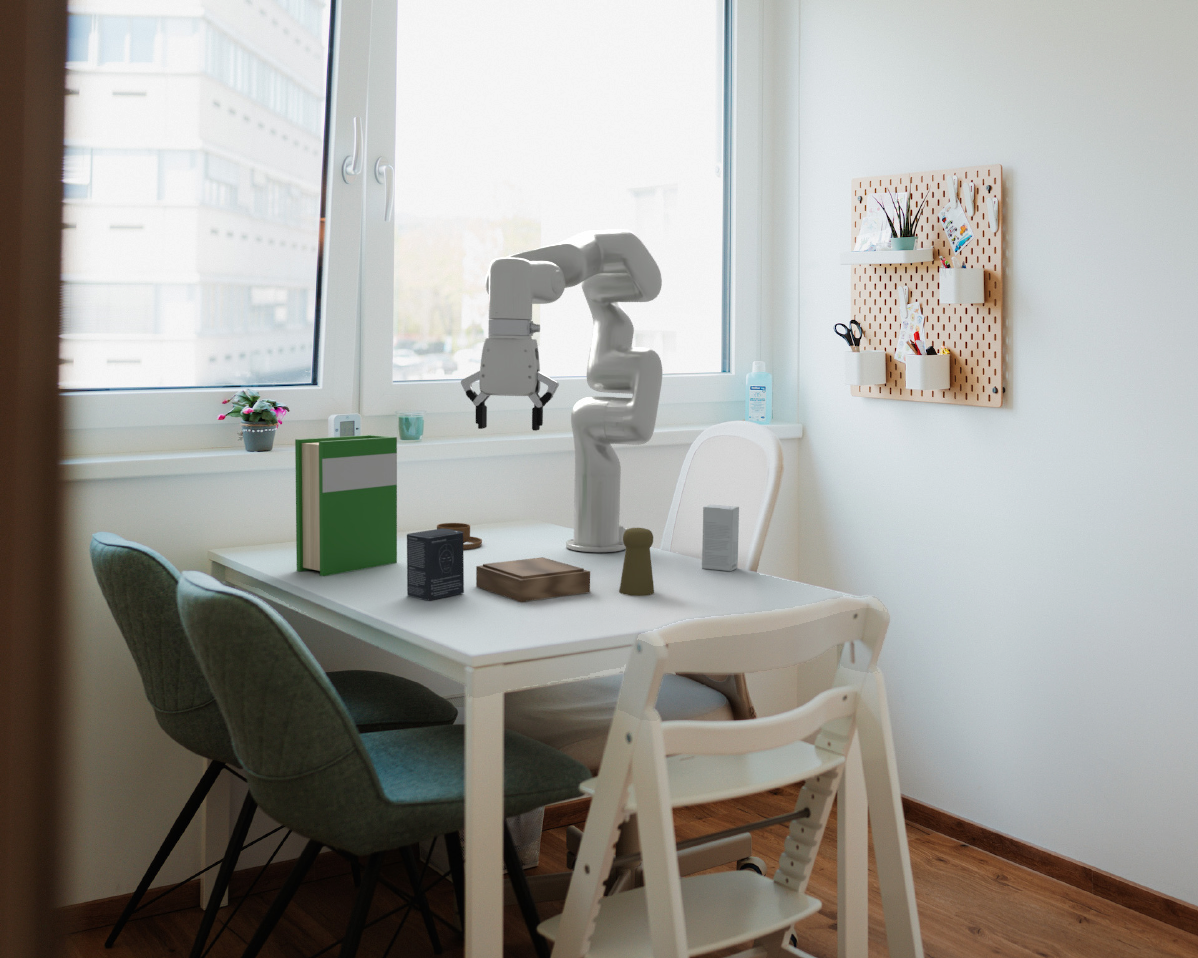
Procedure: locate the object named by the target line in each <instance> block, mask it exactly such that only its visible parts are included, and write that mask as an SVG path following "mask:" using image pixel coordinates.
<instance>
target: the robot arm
mask: <svg viewBox="0 0 1198 958" xmlns="http://www.w3.org/2000/svg"><path fill="white" fill-rule="evenodd" d="M662 283H663V280H662V273H661V270H660V268H659V266H658V263H657V261H656V260H655V258H654V257H653V256H652V253H650V251H649V249H648V247H647V246H646V244H644V242H643V241H642V240H641V238H639V236H638V235H636V234H635V233H634V232H632V231H630V230H628V229H605V230H603V229H602V230H599V229H598V230H587V231H583V232H581V233H578V234H576V235H574V236H572V237H570V238H567V239H566V240H563V241H561V242H558V243H555V244H551V245H547V246H542V247H539V248H535V249H531V250H526V251H522V252H519V253H514V254H511V255H508V256H505V257H498V258H494V259H492V260H491V262H490V264H489V268H488V271H487V273H486V275H485V289H486V292H487V294H488V331H487V332H488V337H485V338H484V341H483V345H482V349H481V357H480V358H481V359H480V368H479V370H478V371H476V372H475V373H473V374H471V375H469V376H467V377H465V378H463V379H461V380H460V384H461V387H462V388H463V391H464V392H465V395H466V397H467V398H468V399H470V401H471V402H472V404H473V405H474V406H475V424H476V425H477V429H478V430H479V429H480V430H481V429H486V428H487V426H488V422H487V421H488V418H487V417H488V416H487V415H488V412H487V411H488V406H487V405H485V404H486V402H487V400H488V399H489V398H490V397H491V396H501V397H504V396H505V397H506V396H507V397H528V398H529V399H530V401H531V402H532V403H533V406H534V407H532V408H531V409H532V410H531V429H532V431H536V432H537V431H540V426H543V424H544V422H543V421H544V420H543V419H544V407H545V406H546V405H547V403H549V402H550V400H552V399H553V398H554V395H555V394H556V392H557V390H558V387H559V386H560V383H559V382H558V381H556V380H554V379H553V378H551V377H549V376H548V375H546V374H545V373H542V372H541V367H540V365H541V364H540V354H539V347H538V341H537V339H535V338H533V336H534V334H536V333H540V332H541V324H538V323H537V324H536V323H534V321H533V305H544V304H547V305H548V304H551V303H554V302H556V301H558V300H559V299H560V298H561V297H562V295H563V293H564V292H565V289H567V288H572V287H575V286H577V285H580V284H581V289H582V292H583V294H584V295H583V296H584V297H585V300H586V303H587V305H588V308H589V311H590V313H591V316H592V317H591V318H592V321H593V322H592V323H593V328H592V329H593V331H592V338H591V342H590V343H591V344H590V349H589V355H588V360H587V361H588V362H587V367H586V382H587V386H588V387H589V388H590V389H592V390H594V391H596V392H599V393H609V394H625V395H626V394H629V395H630V394H632V397H615V396H588V397H583V398H582V399H579V400H578V401H577V402H575V404H574V405H573V407H572V409H571V413H570V414H571V415H570V424H571V430H572V435H573V444H574V501H573V503H574V504H573V507H574V508H573V509H574V510H573V538H572V539H569V540H567V541H565V542H566V544H565V545H566V548H567V549H568V550H571V551H577V552H583V553H584V552H585V553H614V552H621V551H624V550H626V547H625V545H624V543H623V535H624V532H625V531H626V530H627V529H630V528H636V527H635V526H633V527H624V526H623V525H620V514H621V513H620V511H621V510H620V509H621V507H620V506H621V505H620V504H621V471H622V469H621V467H622V466H621V461H620V459H619V456H618V455H617V453H616V451H615V450H614V448H613V446H612V445H614V444H615V445H617V444H618V445H633V446H634V445H635V446H637V445H640V446H641V445H644V444H647V443H648V442H649V441H650V440H651V439H652V437H653V434H654V431H655V428H656V427H655V426H656V421H657V416H658V408H659V401H660V395H661V391H662V382H663V364H662V360H661V357H660V355H659V354H658V353H657V352H656V351H655V350H653V349H651V348H647V347H633V340H634V332H635V328H634V325H633V322H632V320H631V317H630V316H629V315H628V313H627V312H626V311H625V310H624V308H623V307H622V305H621V304H620V303H649V302H651V301H654V300H655V299H656V298H657V297H658V295H659V294H660V292H661V290H662ZM478 381H479V383H478V384H479V391H480V392H479V394H478V393H477V392H476V391H475V390H474V389H473V386H472V384H473V383H474V384H475V383H476V382H478ZM541 383H543V384H544V385H546V386H547V390H546V392H545V393H544V394H543V395H540V391H541Z"/></svg>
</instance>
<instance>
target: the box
mask: <svg viewBox="0 0 1198 958" xmlns="http://www.w3.org/2000/svg"><path fill="white" fill-rule="evenodd" d="M464 556H465V555H464V550H463V531H456V530H450V529H443V528H441V529H437V528H436V529H429V530H423V531H417V532H412V533H407V534H406V575H407V576H406V581H407V582H406V587H407V588H406V590H407V594H406V595H407V596H408V597H410V598H415V599H420V600H424V601H433V600H434V601H435V600H438V599H442V598H447V597H451V596H455V595H460V594H464V593H465V587H464V586H465V584H464V583H465V582H464V581H465V580H464V577H465V576H464V575H465V572H464V567H465V566H464V563H465V562H464V559H465V558H464Z"/></svg>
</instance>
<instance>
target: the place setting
mask: <svg viewBox="0 0 1198 958" xmlns="http://www.w3.org/2000/svg"><path fill="white" fill-rule="evenodd" d="M441 528H443V529H450V530H456V531H463V551H465V550H466V551H467V550H474V549H479V548H480V547H481V546H482V544H483V539H482V538H480V537H475V536H471V525H470V524H468V523H462V522H445V523H439V524H437V525H436V529H441ZM465 543H467V544H465Z"/></svg>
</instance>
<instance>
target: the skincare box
mask: <svg viewBox="0 0 1198 958" xmlns="http://www.w3.org/2000/svg"><path fill="white" fill-rule="evenodd" d="M702 515H703V516H702V517H703V518H702V548H701V550H702V551H701V552H702V553H701V555H702V557H701V568H702V569H703V570H713V571H714V570H715V571H723V572H725V571H726V572H732V571H734V570H736V569H738V568H739V566H738V565H739V559H738V558H739V525H740V518H739V517H740V507H739V506H733V505H732V506H731V505H717V504H709V505H707V506H706V505H704V506H703V507H702Z"/></svg>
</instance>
